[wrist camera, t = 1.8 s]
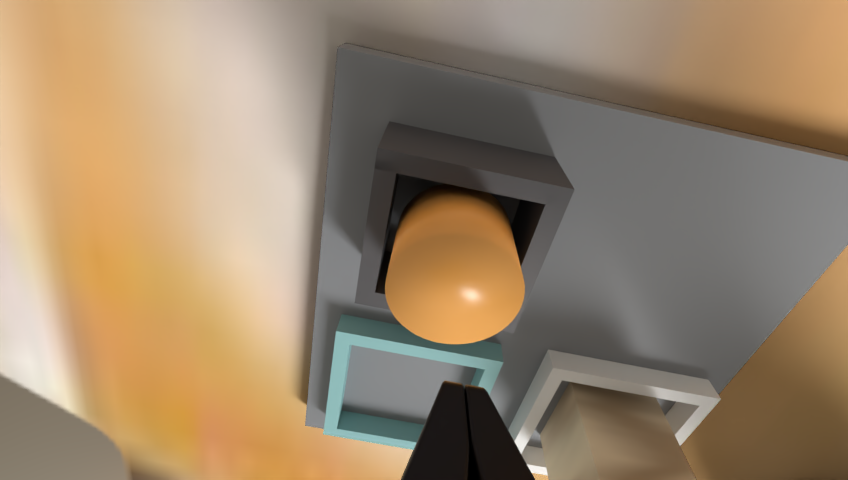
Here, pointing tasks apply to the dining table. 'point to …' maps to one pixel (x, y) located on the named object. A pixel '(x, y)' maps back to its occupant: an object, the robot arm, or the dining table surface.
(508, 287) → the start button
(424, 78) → the grey shape sorting board
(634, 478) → the block
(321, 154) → the dining table surface
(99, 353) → the dining table surface
